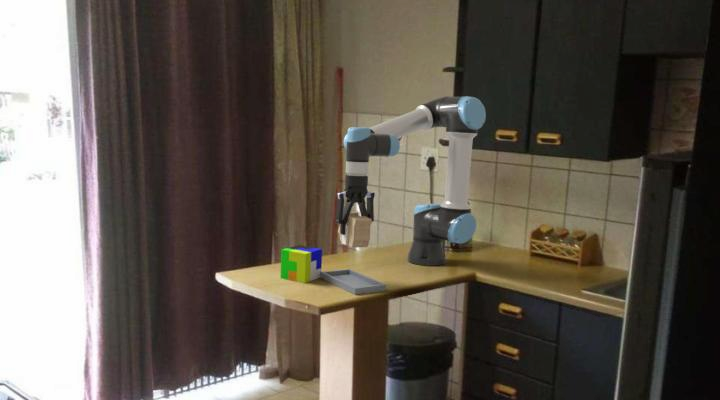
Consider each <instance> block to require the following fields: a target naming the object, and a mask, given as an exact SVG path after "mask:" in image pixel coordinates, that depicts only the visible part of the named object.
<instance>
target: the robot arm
mask: <svg viewBox="0 0 720 400" xmlns="http://www.w3.org/2000/svg"><path fill="white" fill-rule="evenodd" d="M486 116H487V115H486V108H485V106H484V104H483V103H482V102H481V100H480V99H479V98H477V97H474V96H468V95H466V96H441V97H438V98H436V99H435V98H434V99H433V100H430V101H428V102H425V103H423V104H420V105H418V106H417V107H416V108H415V110H412V111H409V112H406V113H405V114H402V115H399V116H396V117H393V118H391V119H388V120H386V121H384V122H381V123H379V124H376V125H373V126H370V127H357V126H356V127H355V126H351V127H349V128H348V129H347V133H346V135H345V136H344V138H343V147H344V149H345V152H346V155H345V176H344V177H345V178H344V186H345V187H344V188H345V189H344V190H343V192H337V193H336V195H335V196H336V199H337V200H336V209H335V210H336V211H335V218H334V221H335V223H337V224H339V226H340V234H342V241H341V244H342V245H345V246H349V244H348V226H349V225H346V224H347V221H348V218H349V215H350V212H352V209H353V206H354V204H356V203H357V205H358V208H359V213H360V216H366V217H368V218H370V219H372V223H373V222H374V221H375V212H374V211H375V210H374V209H375V208H374V207H375V205H374V199H375V194H376V193H375V192H372V191H368V185H369V175H368V174H369V169H370V168H369V165H370V162H369V161H370V157H385V158H386V157H387V158H389V157H395V156H396V155H398V153H399V151H400V144H401V143H400V140H399V139H401V138H403V137H407V136H409V135H411V134H413V133H416V132H419V131H421V130H425V131H427V130H430V129H432V128H445V133H446V135H447V136H448V140H449V141H448V153H447V164H446V165H447V166H446V174H445V175H446V176H445V177H446V178H445V191H444V200H443V201H442V203H422V204H417V205H416V206H415V207H414V213H413V230H412V231H413V234H412V236H413V237H412V242H411V246H410V248H409V252H408V253H407V261H408V262H409V263H410V264H414V265H419V266H433V267H434V266H441V265H445V264H447V263H446V262H447V257H446V251H445V248H444V244H443V241H447V242H450V243H452V244H455V243H456V244H465V243H467V242H468V241H470V240H471V238H473V236H474V235H475V233H476V230H477V220H476V218H475V216H474V215H473V214H472V206H471V205H470V203H469V202H468V200H469V188H470V176H471V166H472V154H473V139H474V138H475V137H477V136H478V133H479V129H481V128H482V127H483V125H484V124H485V122H486V118H487V117H486ZM365 198H366V199H365ZM344 204H345V205H344ZM340 234H339V235H340Z"/></svg>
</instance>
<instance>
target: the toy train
mask: <svg viewBox="0 0 720 400" xmlns="http://www.w3.org/2000/svg"><path fill="white" fill-rule="evenodd" d="M372 224H373V222H372V219H370V218H368V217H366V216H361V215H359V211H351V212H350V215H349V218H348V221H347V224H346V225H349V226H348V246H349V247H350V248H351V249H352V248H367V247H369V244H370V238H371V225H372ZM337 232H338V233H337V234H339V241H340V242H342V234H340V225H339V227H338V229H337Z"/></svg>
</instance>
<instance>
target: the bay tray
mask: <svg viewBox="0 0 720 400" xmlns="http://www.w3.org/2000/svg"><path fill="white" fill-rule="evenodd" d="M320 278H321V279H323V280H324V281H326V282H329V283H330V284H332V285H334V286H337V287H339V288H340V289H343V290H345V291H347V292H349V293H350V294H352V293H353V294H352V295H354V294H357V295H363V294H362V293H364V294H370V293H371V294H372V293H376V292H377V293H378V292H385V291H387V284H386V283H383V282H381V281H379V280H377V279H375V278H372V277H370V276H367V275H365V274H363V273H360V272H359V271H356V270H354V269H351V268H346V269H345V268H343V269H336V270H335V269H334V270H325V271H321V272H320ZM320 278H319V279H320Z"/></svg>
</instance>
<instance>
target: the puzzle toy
mask: <svg viewBox="0 0 720 400" xmlns="http://www.w3.org/2000/svg"><path fill="white" fill-rule="evenodd" d="M280 250H281V251H280V279H283V280H288V281H293V282H297V283H302V284H303V283H304V284H306V283H309V282H311V281H314V280H317V279H320V272H322V264H323V263H322V261H323V260H322V259H323V248H318V247H312V246H305V245H299V244H298V245H294V246H290V247H287V248H282V249H280Z"/></svg>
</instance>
